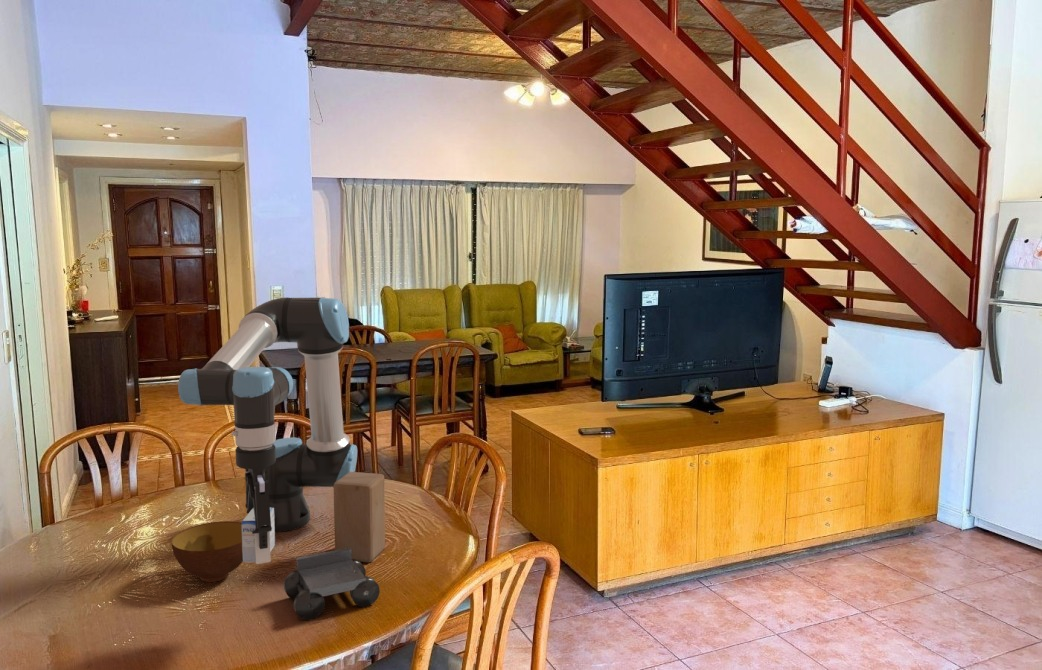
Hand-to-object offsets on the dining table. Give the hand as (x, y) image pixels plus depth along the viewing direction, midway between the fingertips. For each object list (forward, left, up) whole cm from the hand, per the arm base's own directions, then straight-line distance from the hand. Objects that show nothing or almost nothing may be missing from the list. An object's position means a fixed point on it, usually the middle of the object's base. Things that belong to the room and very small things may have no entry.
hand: (259, 553), depth 152 cm
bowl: (-29, -6, -16) cm, 34 cm away
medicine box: (0, 0, 0) cm, 0 cm away
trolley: (-4, +15, -16) cm, 22 cm away
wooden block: (-25, +28, -16) cm, 41 cm away
